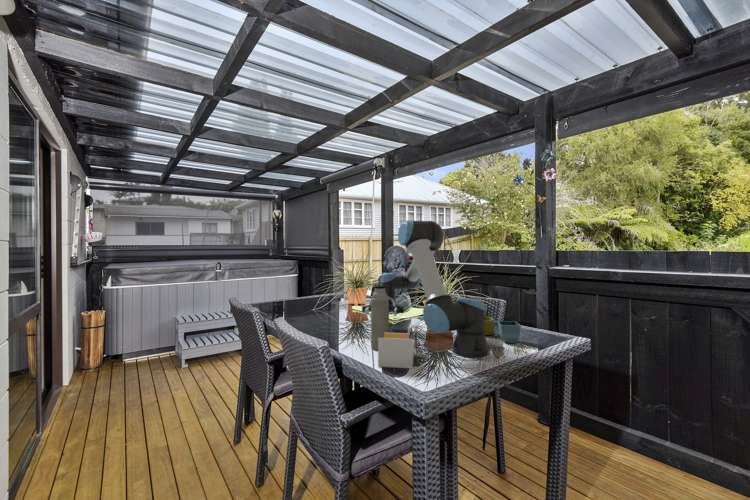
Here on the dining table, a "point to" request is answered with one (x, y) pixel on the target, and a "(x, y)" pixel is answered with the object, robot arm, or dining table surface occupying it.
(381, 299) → the thermos bottle
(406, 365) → the white open box
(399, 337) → the pusher
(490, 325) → the mug
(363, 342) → the dining table surface
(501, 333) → the flower pot
